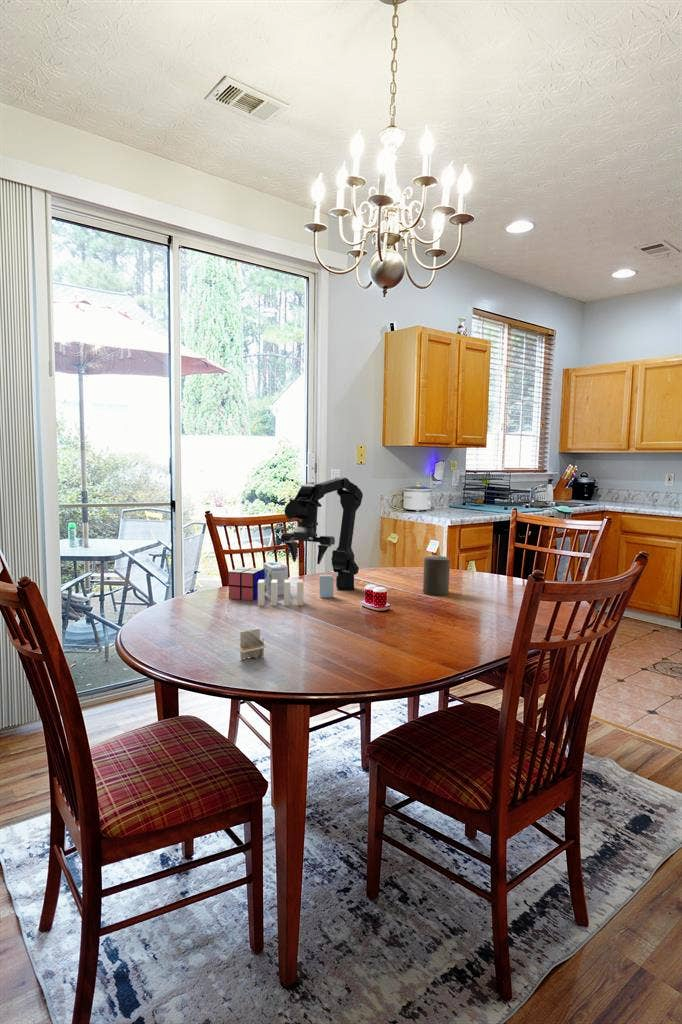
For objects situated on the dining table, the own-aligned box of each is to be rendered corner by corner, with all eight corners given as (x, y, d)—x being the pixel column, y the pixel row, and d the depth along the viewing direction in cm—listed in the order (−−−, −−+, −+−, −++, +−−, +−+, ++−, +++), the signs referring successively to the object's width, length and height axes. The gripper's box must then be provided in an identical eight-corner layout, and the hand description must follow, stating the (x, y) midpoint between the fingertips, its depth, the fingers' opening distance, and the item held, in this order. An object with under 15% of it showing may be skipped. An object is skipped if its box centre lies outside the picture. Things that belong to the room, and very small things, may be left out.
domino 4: (303, 601, 207) (303, 579, 206) (302, 605, 202) (303, 582, 201) (297, 601, 207) (297, 579, 206) (297, 605, 202) (297, 582, 201)
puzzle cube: (253, 601, 207) (253, 573, 206) (228, 599, 210) (228, 571, 209) (265, 595, 217) (265, 568, 216) (240, 593, 220) (240, 566, 219)
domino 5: (319, 596, 215) (319, 575, 214) (333, 596, 215) (333, 575, 215) (319, 597, 213) (319, 576, 212) (333, 597, 213) (333, 576, 213)
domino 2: (277, 601, 207) (277, 579, 206) (276, 605, 202) (276, 582, 201) (271, 601, 207) (271, 579, 206) (270, 605, 202) (270, 582, 201)
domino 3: (290, 601, 207) (290, 579, 206) (289, 605, 202) (289, 582, 201) (284, 601, 207) (284, 579, 206) (284, 605, 202) (284, 582, 201)
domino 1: (264, 601, 206) (264, 579, 206) (263, 605, 201) (263, 582, 201) (259, 601, 206) (258, 579, 206) (257, 605, 201) (257, 582, 201)
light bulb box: (262, 590, 224) (262, 562, 223) (279, 588, 227) (279, 561, 226) (271, 596, 215) (271, 567, 214) (288, 594, 218) (288, 566, 217)
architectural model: (266, 660, 148) (266, 631, 147) (242, 665, 144) (242, 636, 143) (260, 656, 151) (260, 628, 150) (236, 661, 147) (235, 632, 146)
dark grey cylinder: (431, 596, 216) (433, 556, 215) (418, 591, 225) (419, 552, 224) (453, 595, 220) (455, 555, 219) (439, 589, 229) (441, 551, 227)
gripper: (275, 517, 203) (272, 562, 203) (325, 521, 197) (322, 567, 197) (288, 517, 213) (286, 559, 214) (336, 521, 207) (333, 564, 208)
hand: (306, 563), depth 208 cm, fingers open, 9 cm apart
